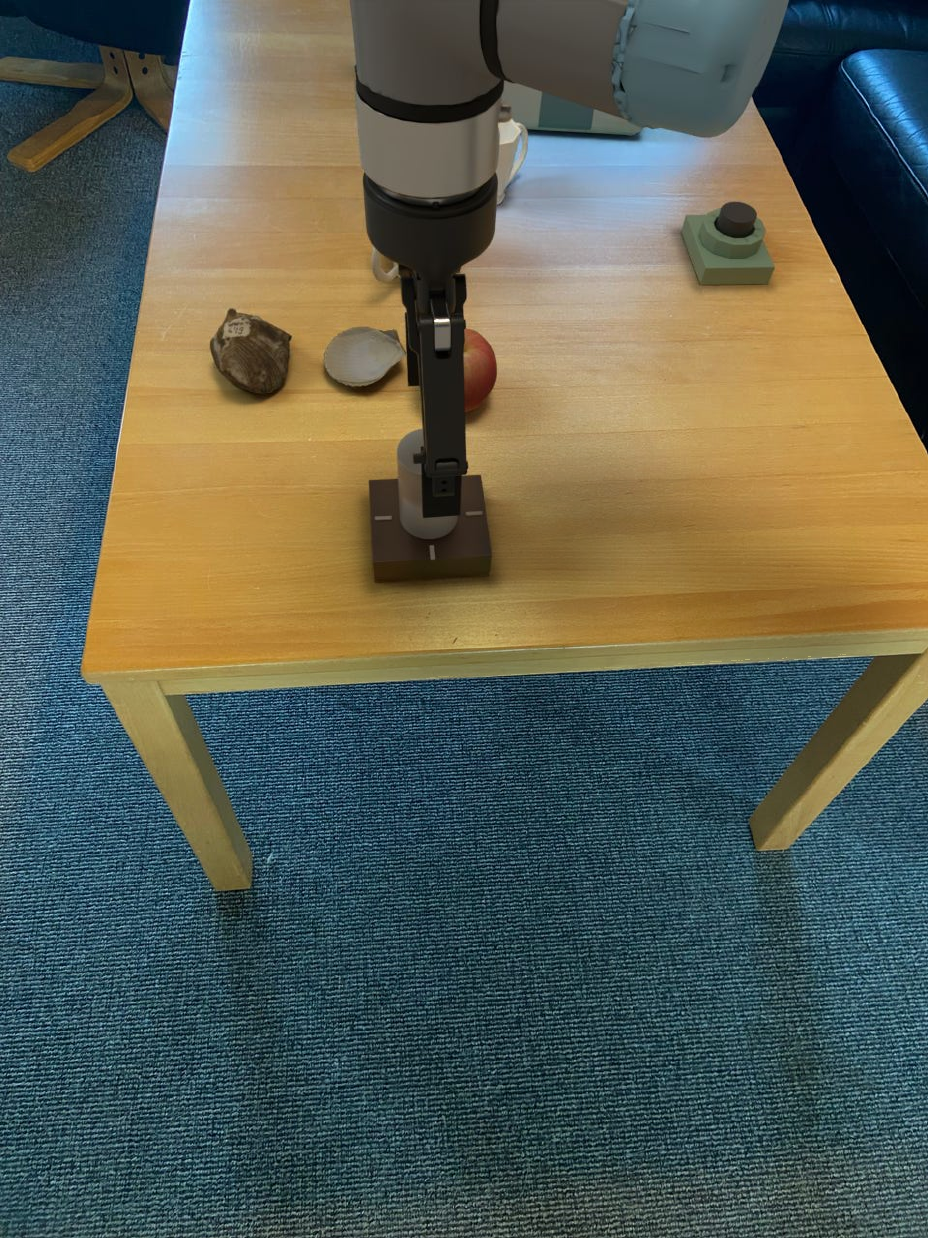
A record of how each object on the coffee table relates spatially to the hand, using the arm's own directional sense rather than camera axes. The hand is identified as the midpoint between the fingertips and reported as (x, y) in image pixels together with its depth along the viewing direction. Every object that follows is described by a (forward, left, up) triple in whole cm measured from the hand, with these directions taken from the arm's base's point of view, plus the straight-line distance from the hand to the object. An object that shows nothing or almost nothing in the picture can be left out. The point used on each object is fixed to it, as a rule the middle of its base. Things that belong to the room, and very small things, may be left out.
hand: (432, 444), depth 63 cm
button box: (-14, -52, -12) cm, 55 cm away
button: (-14, -52, -8) cm, 54 cm away
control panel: (0, 0, -12) cm, 12 cm away
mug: (+17, -32, -12) cm, 38 cm away
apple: (+5, -17, -12) cm, 22 cm away
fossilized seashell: (+25, -12, -12) cm, 30 cm away
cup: (+15, -52, -12) cm, 56 cm away
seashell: (+15, -17, -12) cm, 26 cm away
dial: (0, 0, -9) cm, 9 cm away
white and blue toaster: (+13, -71, -12) cm, 73 cm away
